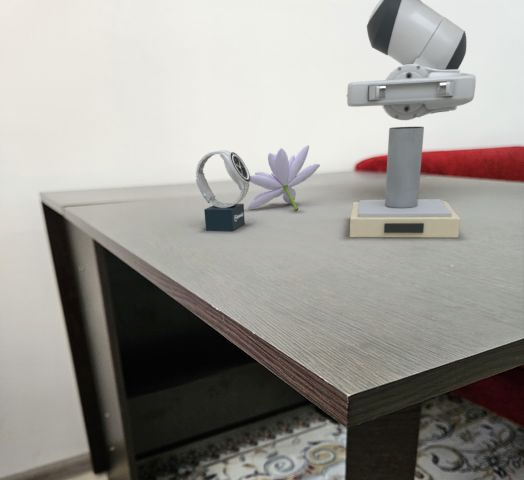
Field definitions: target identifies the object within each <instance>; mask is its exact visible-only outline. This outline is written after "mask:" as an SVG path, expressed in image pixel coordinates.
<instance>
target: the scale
mask: <svg viewBox="0 0 524 480" xmlns="http://www.w3.org/2000/svg"><path fill="white" fill-rule="evenodd" d="M460 226H461V217H460V216H459V215H458V214H457V213H456V212H455V210H454V209H453V208H452V207H451V205H450V204H449V203H448V201H443V200H442V199H441V198H424V199H423V198H422V199H421V198H418V205H417V206H415V207H411V208H392V207H387V206H385V199H359V201H354V202H353V203H352V208H351V213H350V219H349V238H411V239H412V238H416V239H417V238H420V239H421V238H422V239H424V238H425V239H427V238H428V239H429V238H430V239H431V238H432V239H433V238H434V239H435V238H436V239H438V238H441V239H443V238H444V239H445V238H447V239H448V238H449V239H454V238H455V239H456V238H457V239H458V238H459V233H460V228H461V227H460Z"/></svg>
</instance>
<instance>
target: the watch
mask: <svg viewBox="0 0 524 480" xmlns="http://www.w3.org/2000/svg"><path fill="white" fill-rule="evenodd" d="M215 155H219V157H220V158H221V159H222V160H223V163H224V164H223V165H224V167H225V169H226V172H227V174H228V176H229V177H230V178H231V180H232V181H233V182H234V183H235V184H236V185H237V186H238V189H239V191H240V194H239V195H238V197H237V199H236V200H235V201H234V202H229V203H225V202H221V201H219V200H217V198H216V195H215V194H214V192H213V191H212V189H211V187H210V185H209V183H208V180H207V178H206V177H205V176H206V175H205V172H204V169H205V165H206V163H207V161H209V159H211V158H212V156H215ZM195 175H196V176H195V178H196V179H195V182H196V184H197V188H198V189H199V192H200V193H201V195H202V197H203V198H204V200H205V201H206V202H207V203H208V204H211V205H210V206H209V207H207V208H204V209H203V211H204V222H205V223H204V224H205V231H208V232H210V231H211V232H234V231H236V230H238V229H239V228H241V227H243V226H244V225H245V224H246V223H245V222H246V221H245V204H244V203H240V202H242V201H243V200H244V199H245V197H246V196H247V195H248V192H249V189H250V183H251V182H250V176H251V174H250V171H249V169H248V167H247V165H246V164H245V162H244V160H243V159H242V158H241V157H240V156H239V155H238V154H237V153H236V152H235V151H228V150H216V151H212V152H208V153H207V154H205V155H203V157H201V158H200V160H199V161H198V163H197V166H196V170H195Z"/></svg>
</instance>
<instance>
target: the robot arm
mask: <svg viewBox="0 0 524 480" xmlns="http://www.w3.org/2000/svg"><path fill="white" fill-rule="evenodd" d="M366 33H367V37H368V40H369V43H370V46H371V48H372V49H374V50H376V51H377V52H379V53H381V54H383V55H386V56H389V57H391V58H392V59H393V60H395V61H396V62H398V63H399V64H400V66H398V67H396V68H395V69H393V70H392V71H391V72H390V73H389V74H388V75H387V76H386V78H385V79H382V80H366V81H351V82H349V83H348V84H347V90H346V91H347V94H346V104H347V106H348V107H351V108H358V107H382V109H383V111H384V113H386V114H387V115H388V116H389V117H391V118H392V119H395V120H398V121H411V120H414V119H416V118H421V117H425V116H427V115H429V114H431V115H432V114H436V113H446V112H449V111H456V110H457V109H458V107H459V106H460V107H461V106H463V105H466V104H469V103H471V102H472V101H473V100H474V98H475V92H476V84H477V83H476V82H477V77H476V75H475V74H473V73H465V72H461V70H460V66H461V64H462V63H463V61H464V59H465V56H466V54H467V33H466V31H465V30H464V29H462V28H461V27H460V26H458V25H457V24H456V23H454V22H453V21H452V20H450V19H448V18H447V17H446V16H443V15H442V14H440V13H439V12H438V11H436V10H434V9H433V8H432V7H430V6H428V5H427V4H426V3H424V2H423V1H422V0H379V1H378V2H377V4H376V5H375V7H374V8H373V10H372V12H371V13H370V16H369V18H368V21H367V24H366Z"/></svg>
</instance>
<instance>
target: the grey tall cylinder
mask: <svg viewBox="0 0 524 480" xmlns="http://www.w3.org/2000/svg"><path fill="white" fill-rule="evenodd" d="M424 133H425V127H424V126H396V127H394V126H393V127H389V128H388V143H387V144H388V145H387V159H386V161H387V162H386V177H385V195H384V200H385V206H387V207H392V208H411V207H415V206H417V205H418V199H419V194H420V181H421V171H422V170H421V169H422V157H423V147H424V145H423V144H424Z"/></svg>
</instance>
